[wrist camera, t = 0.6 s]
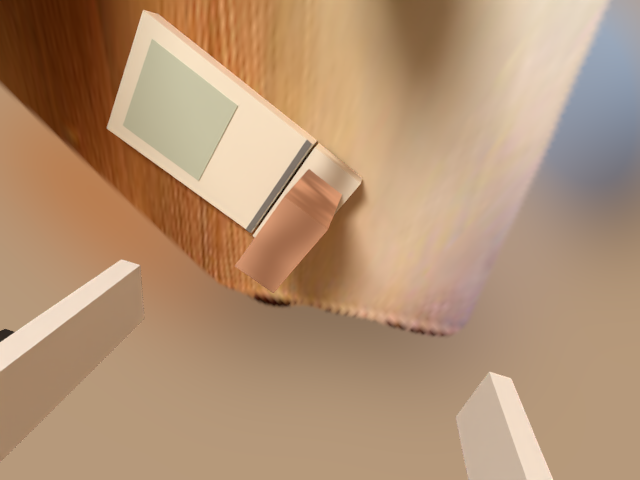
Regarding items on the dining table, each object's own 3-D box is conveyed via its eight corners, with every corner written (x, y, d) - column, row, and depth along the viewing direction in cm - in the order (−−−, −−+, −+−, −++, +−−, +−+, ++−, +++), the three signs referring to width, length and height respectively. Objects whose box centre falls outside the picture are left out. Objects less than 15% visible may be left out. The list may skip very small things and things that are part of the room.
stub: (258, 228, 36) (217, 275, 27) (319, 143, 30) (291, 168, 22) (296, 255, 37) (268, 310, 28) (362, 177, 31) (352, 216, 22)
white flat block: (121, 125, 34) (105, 128, 32) (158, 13, 28) (142, 9, 26) (257, 225, 36) (250, 233, 34) (317, 140, 31) (312, 144, 29)
